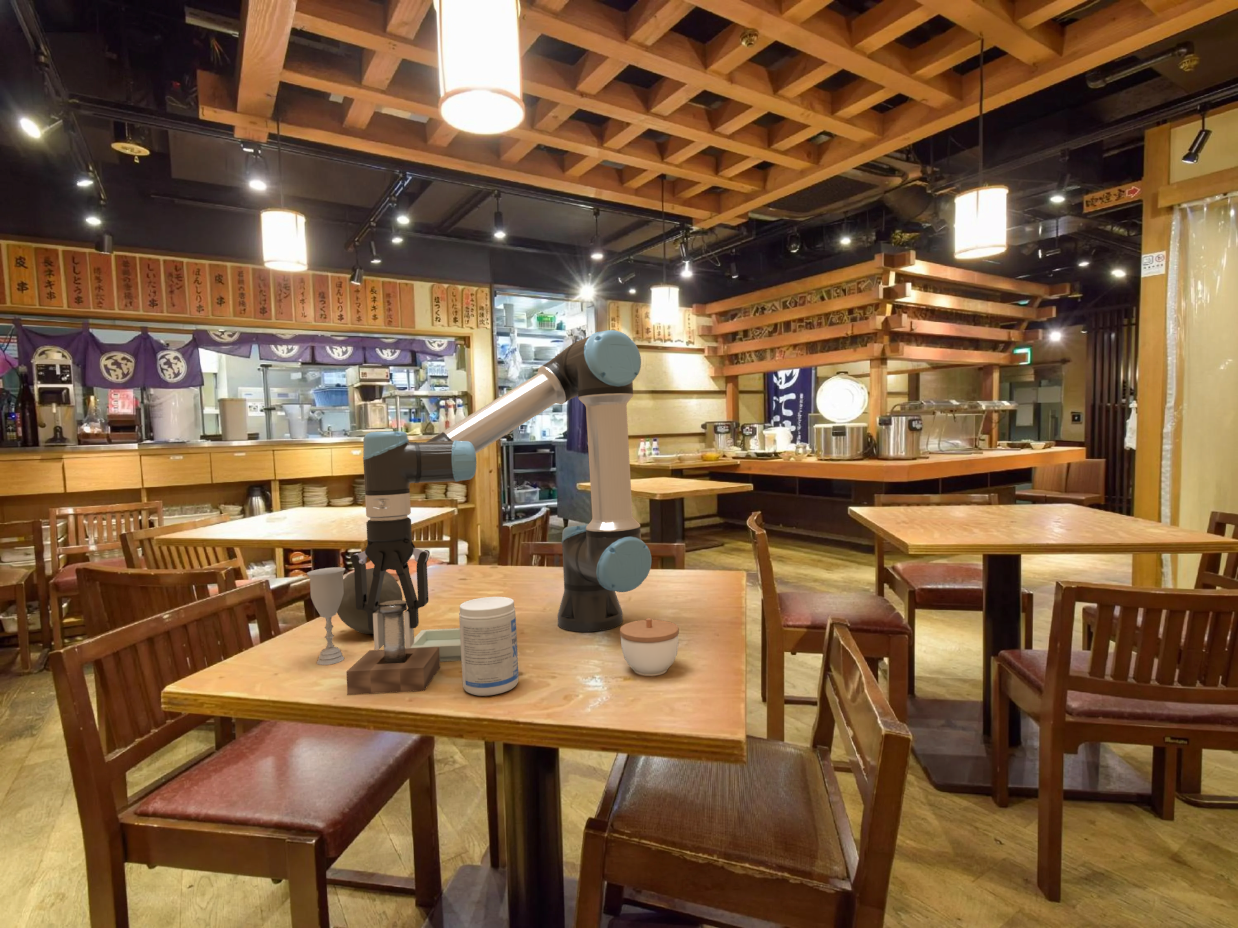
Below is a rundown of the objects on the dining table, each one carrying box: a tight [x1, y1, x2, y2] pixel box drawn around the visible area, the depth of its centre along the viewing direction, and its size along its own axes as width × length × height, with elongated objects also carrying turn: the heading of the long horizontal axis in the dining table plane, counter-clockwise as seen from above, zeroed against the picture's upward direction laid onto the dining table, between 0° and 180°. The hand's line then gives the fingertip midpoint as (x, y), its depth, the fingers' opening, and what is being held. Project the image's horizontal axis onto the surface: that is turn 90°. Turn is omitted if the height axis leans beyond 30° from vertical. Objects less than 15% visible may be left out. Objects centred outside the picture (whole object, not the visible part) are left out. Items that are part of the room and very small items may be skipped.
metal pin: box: [378, 599, 408, 664], centre depth 111 cm, size 5×5×14 cm
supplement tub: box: [458, 596, 519, 697], centre depth 106 cm, size 10×10×15 cm
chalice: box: [306, 566, 346, 666], centre depth 123 cm, size 7×7×18 cm
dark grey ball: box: [336, 567, 404, 635], centre depth 140 cm, size 14×14×15 cm
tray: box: [405, 627, 462, 663], centre depth 126 cm, size 14×12×3 cm
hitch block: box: [345, 647, 441, 696], centre depth 111 cm, size 13×11×4 cm
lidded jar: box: [619, 617, 680, 677], centre depth 112 cm, size 11×11×9 cm
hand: (394, 646), depth 111 cm, fingers closed on metal pin, 5 cm apart
